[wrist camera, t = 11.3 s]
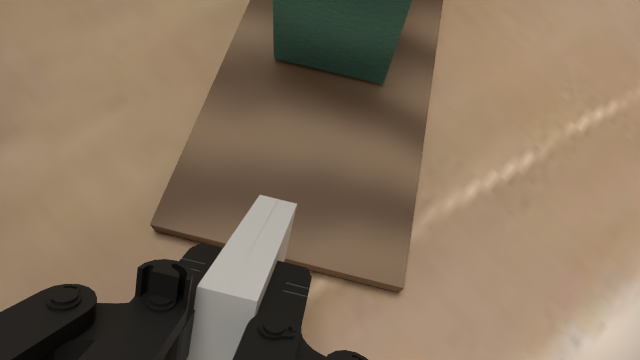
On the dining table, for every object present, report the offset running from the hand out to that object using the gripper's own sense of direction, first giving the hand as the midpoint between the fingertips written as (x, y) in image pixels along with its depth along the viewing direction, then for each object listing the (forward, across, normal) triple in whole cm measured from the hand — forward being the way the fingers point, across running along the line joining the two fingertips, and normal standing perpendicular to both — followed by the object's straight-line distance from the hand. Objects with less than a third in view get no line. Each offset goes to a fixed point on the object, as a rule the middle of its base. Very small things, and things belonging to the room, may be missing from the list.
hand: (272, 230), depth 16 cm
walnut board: (+16, 0, +8) cm, 18 cm away
